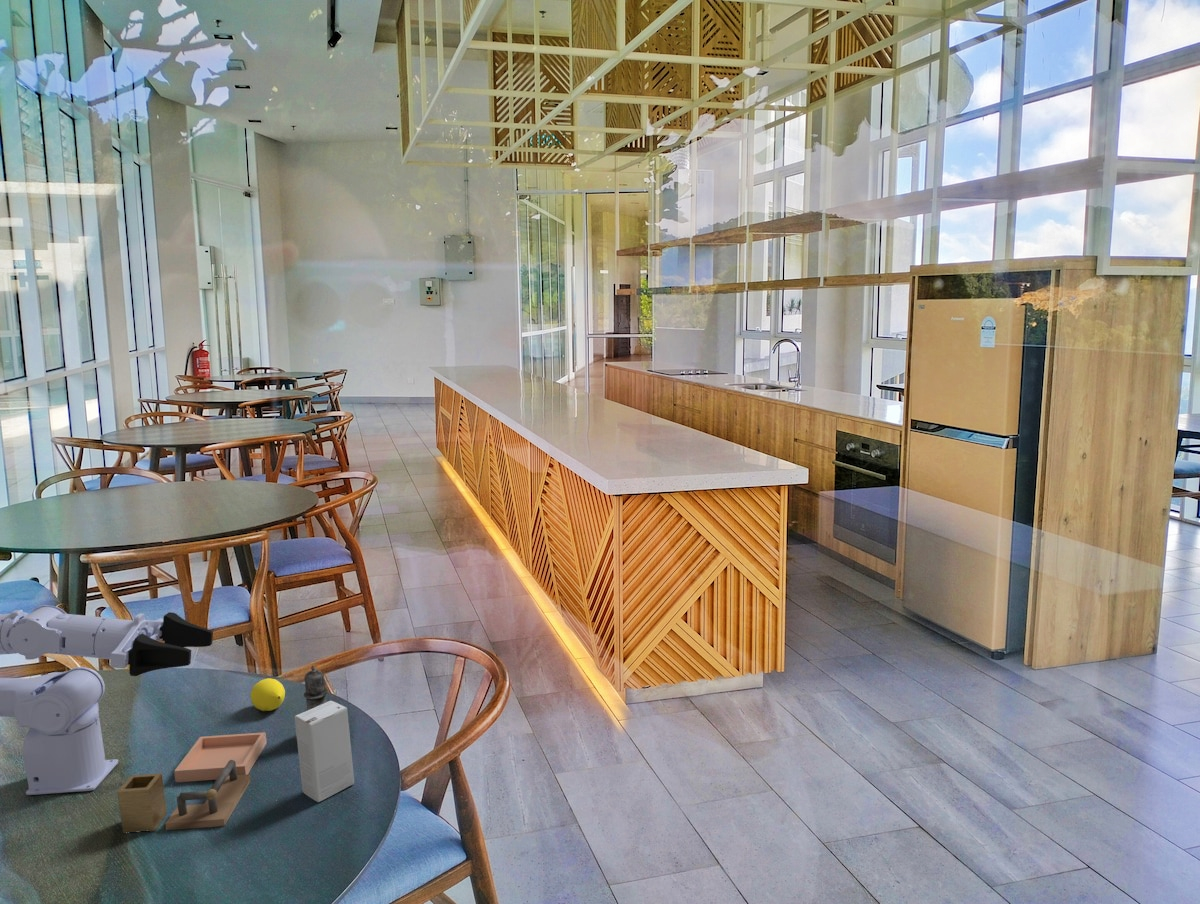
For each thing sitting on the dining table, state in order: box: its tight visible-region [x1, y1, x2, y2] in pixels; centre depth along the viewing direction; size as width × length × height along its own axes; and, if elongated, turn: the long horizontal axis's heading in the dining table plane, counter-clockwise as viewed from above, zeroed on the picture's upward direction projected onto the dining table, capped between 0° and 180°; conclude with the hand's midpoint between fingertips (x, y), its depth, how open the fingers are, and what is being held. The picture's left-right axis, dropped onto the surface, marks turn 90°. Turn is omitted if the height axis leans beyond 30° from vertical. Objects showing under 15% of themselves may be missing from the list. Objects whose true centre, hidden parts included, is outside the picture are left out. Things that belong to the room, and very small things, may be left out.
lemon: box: [249, 677, 286, 712], centre depth 147 cm, size 7×5×5 cm
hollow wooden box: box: [116, 772, 168, 834], centre depth 115 cm, size 4×4×6 cm
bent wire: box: [164, 760, 252, 831], centre depth 120 cm, size 8×11×4 cm
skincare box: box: [294, 700, 355, 803], centre depth 121 cm, size 6×4×12 cm
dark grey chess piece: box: [303, 665, 328, 711], centre depth 137 cm, size 6×6×12 cm
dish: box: [173, 731, 268, 783], centre depth 131 cm, size 10×10×2 cm
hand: (201, 647), depth 125 cm, fingers open, 7 cm apart
